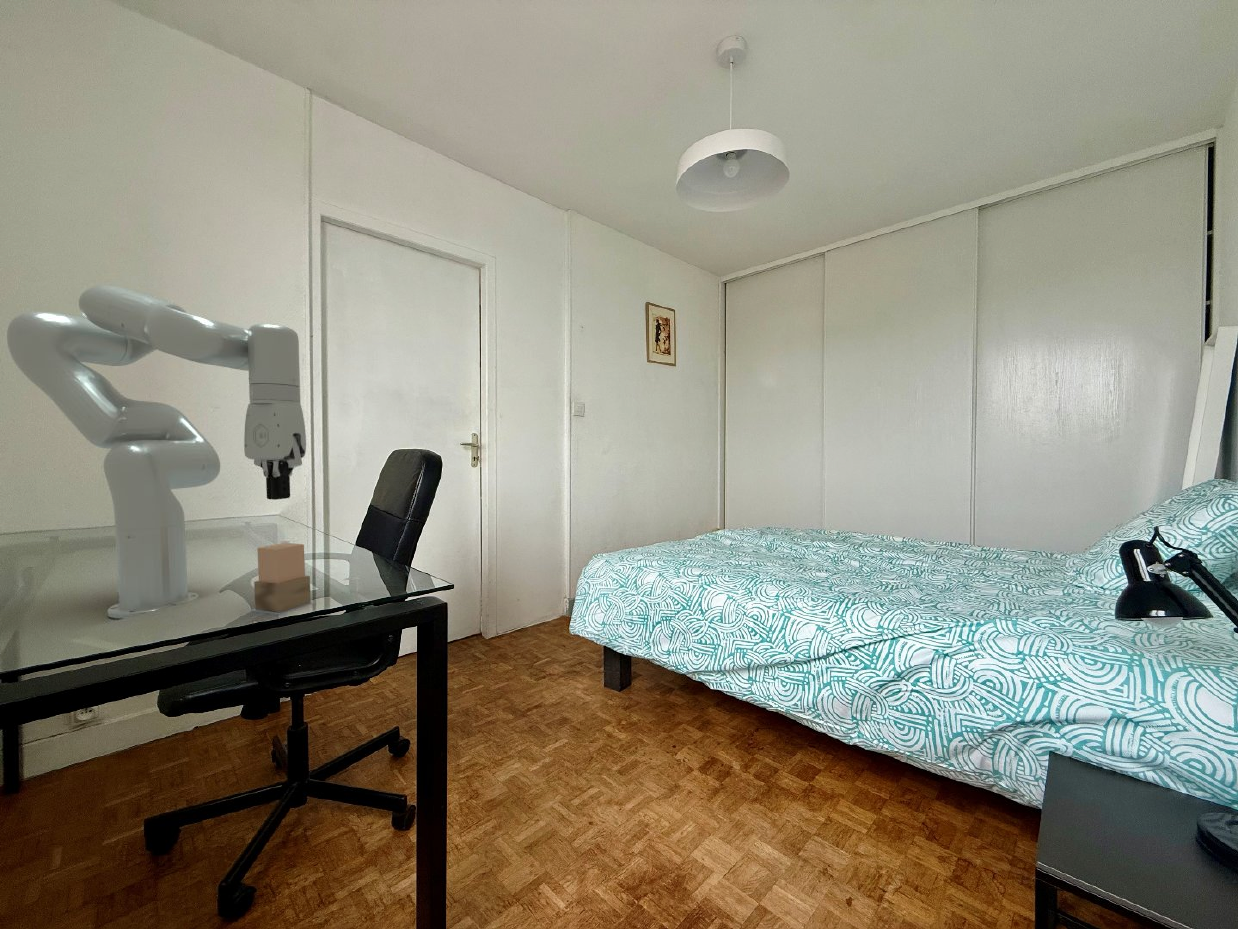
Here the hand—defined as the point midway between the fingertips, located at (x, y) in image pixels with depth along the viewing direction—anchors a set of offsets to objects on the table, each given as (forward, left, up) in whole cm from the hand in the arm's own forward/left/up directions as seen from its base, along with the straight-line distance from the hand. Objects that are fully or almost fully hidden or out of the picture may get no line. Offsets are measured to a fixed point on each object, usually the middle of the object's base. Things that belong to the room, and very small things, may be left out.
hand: (278, 498), depth 90 cm
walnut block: (0, 0, -20) cm, 20 cm away
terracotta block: (0, 0, -15) cm, 15 cm away
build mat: (0, 0, -21) cm, 21 cm away
